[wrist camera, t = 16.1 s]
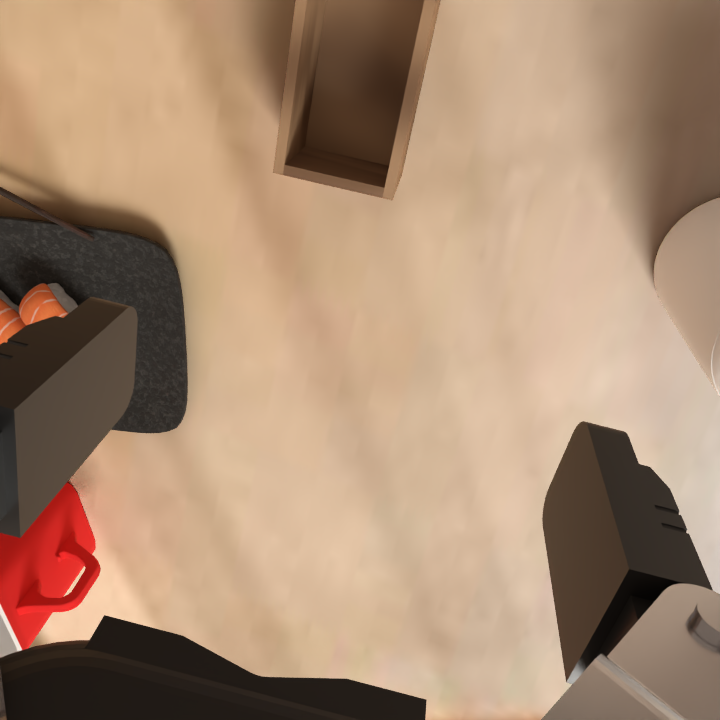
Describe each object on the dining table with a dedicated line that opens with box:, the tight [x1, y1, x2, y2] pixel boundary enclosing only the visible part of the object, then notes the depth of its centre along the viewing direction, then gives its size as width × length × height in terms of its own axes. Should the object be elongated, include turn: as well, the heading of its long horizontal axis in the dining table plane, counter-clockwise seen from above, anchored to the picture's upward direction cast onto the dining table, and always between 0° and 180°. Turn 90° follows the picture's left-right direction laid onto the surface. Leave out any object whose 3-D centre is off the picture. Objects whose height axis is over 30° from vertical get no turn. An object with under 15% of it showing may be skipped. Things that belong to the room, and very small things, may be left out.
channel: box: [273, 0, 440, 200], centre depth 33 cm, size 9×6×6 cm, turn 169°
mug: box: [0, 483, 100, 658], centre depth 49 cm, size 12×8×11 cm
